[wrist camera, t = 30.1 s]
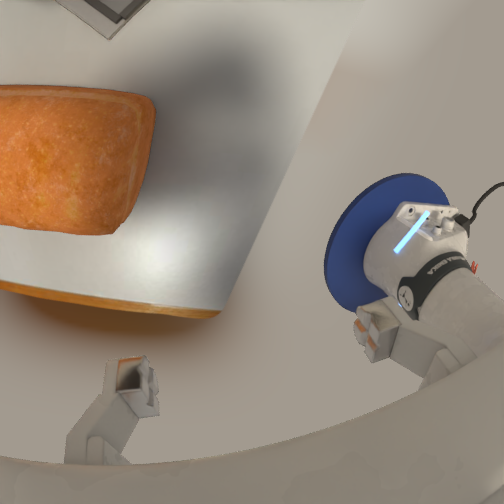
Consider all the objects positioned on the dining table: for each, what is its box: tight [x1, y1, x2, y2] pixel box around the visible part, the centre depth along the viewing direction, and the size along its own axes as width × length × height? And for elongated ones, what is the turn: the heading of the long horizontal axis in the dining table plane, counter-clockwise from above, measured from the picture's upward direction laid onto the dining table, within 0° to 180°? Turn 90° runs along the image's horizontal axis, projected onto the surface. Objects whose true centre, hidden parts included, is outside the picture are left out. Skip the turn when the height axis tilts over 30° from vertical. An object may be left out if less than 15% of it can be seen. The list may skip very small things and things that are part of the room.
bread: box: [0, 85, 156, 235], centre depth 25 cm, size 14×26×16 cm, turn 74°
